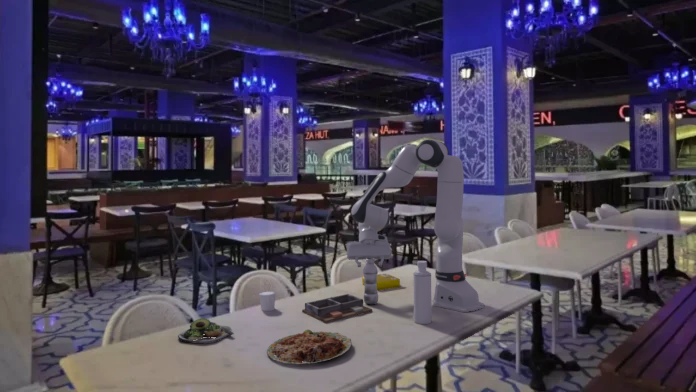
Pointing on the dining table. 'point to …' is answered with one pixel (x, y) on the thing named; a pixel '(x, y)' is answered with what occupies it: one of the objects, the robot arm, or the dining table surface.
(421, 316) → the white bottle
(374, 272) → the plastic bottle
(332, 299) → the socket board
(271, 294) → the white cup
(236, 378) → the dining table surface
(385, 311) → the dining table surface
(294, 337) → the rice dish
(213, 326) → the salad plate
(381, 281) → the element tile
